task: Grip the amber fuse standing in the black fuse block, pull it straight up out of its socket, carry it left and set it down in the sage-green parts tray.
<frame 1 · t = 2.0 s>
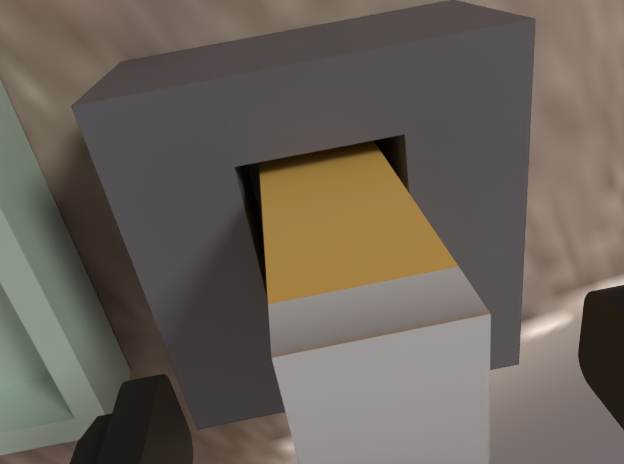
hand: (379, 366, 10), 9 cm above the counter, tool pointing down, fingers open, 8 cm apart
fuse block: (314, 183, 18), on the counter
fuse: (318, 195, 17), point 1 cm above the counter, touching fuse block
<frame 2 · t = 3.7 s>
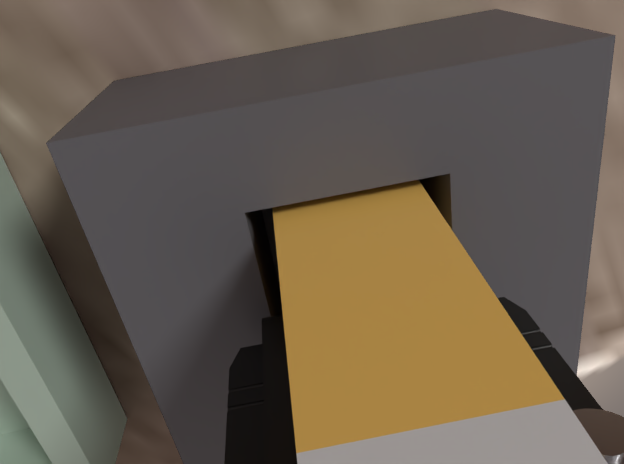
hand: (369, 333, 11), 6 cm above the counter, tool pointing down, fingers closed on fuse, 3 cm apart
fuse block: (333, 215, 16), on the counter
fuse: (337, 220, 14), point 1 cm above the counter, touching gripper
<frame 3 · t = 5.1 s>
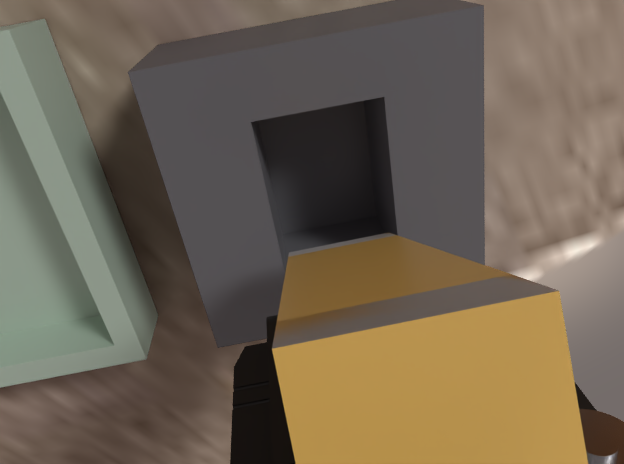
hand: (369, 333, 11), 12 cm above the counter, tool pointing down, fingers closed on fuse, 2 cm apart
fuse block: (316, 149, 21), on the counter
fuse: (355, 324, 15), point 8 cm above the counter, tilted 25°, touching gripper
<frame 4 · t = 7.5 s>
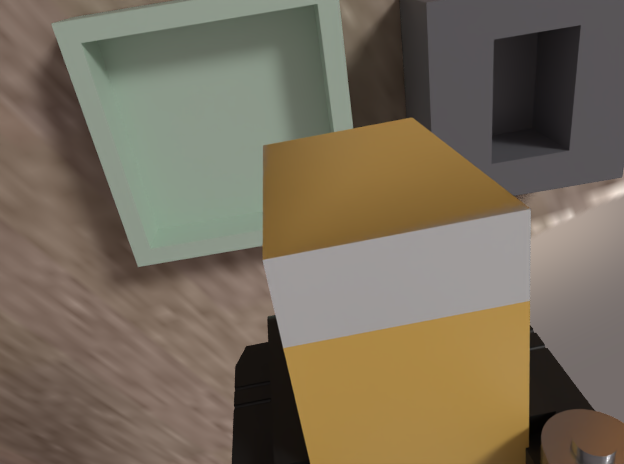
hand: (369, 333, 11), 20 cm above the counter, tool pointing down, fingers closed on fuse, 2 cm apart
fuse block: (492, 77, 29), on the counter
parts tray: (229, 121, 29), on the counter
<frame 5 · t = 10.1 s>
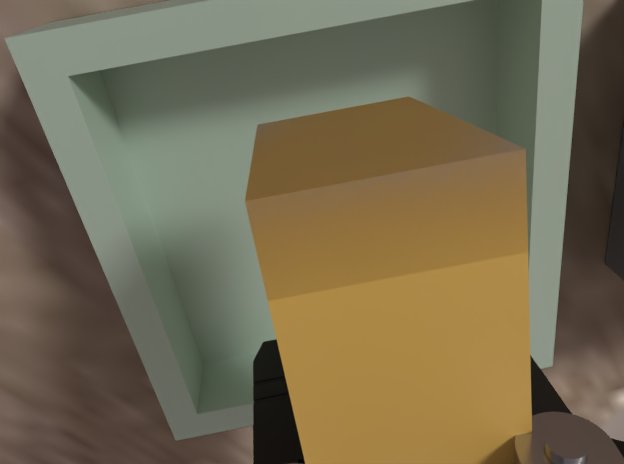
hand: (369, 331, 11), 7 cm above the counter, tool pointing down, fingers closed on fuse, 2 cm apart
parts tray: (325, 194, 17), on the counter
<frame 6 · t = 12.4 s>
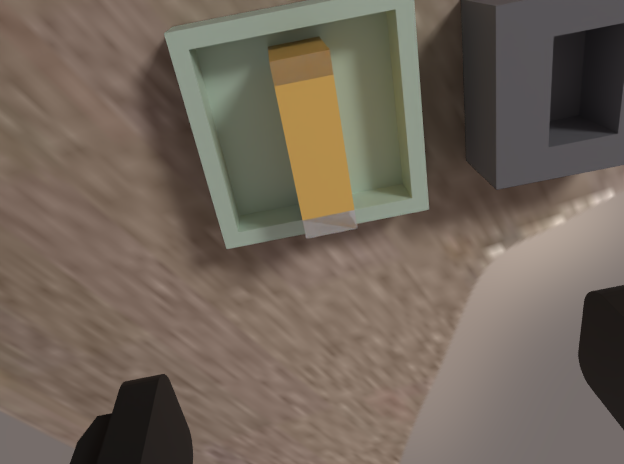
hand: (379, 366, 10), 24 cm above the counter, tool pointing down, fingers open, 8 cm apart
fuse block: (542, 70, 32), on the counter
fuse: (326, 214, 32), point 3 cm above the counter, tilted 90°, touching parts tray
parts tray: (305, 116, 32), on the counter
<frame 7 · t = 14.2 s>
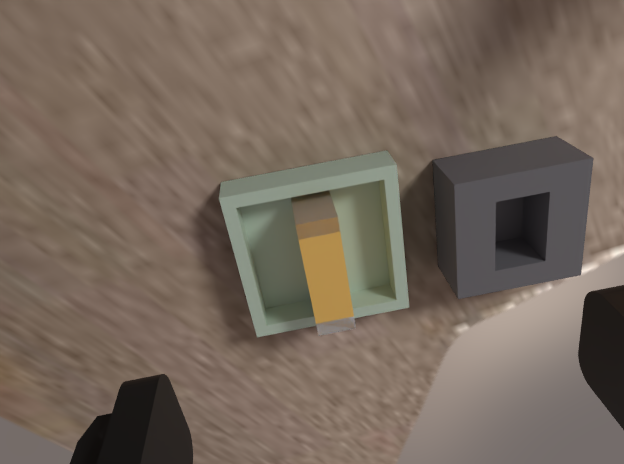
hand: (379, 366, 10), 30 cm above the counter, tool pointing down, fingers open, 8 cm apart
fuse block: (494, 204, 43), on the counter
fuse: (332, 312, 43), point 3 cm above the counter, tilted 90°, touching parts tray
parts tray: (317, 238, 43), on the counter
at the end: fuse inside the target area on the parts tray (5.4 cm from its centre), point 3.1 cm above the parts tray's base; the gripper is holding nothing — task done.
